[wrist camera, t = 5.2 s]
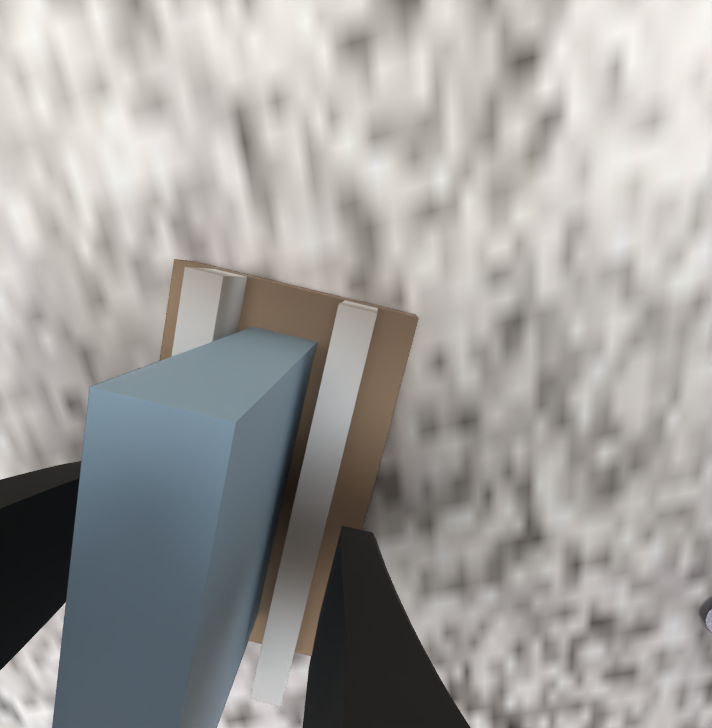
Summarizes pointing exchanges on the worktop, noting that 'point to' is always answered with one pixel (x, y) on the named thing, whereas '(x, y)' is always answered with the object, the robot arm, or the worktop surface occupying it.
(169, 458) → the door panel
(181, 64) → the worktop surface
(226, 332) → the bottom track
